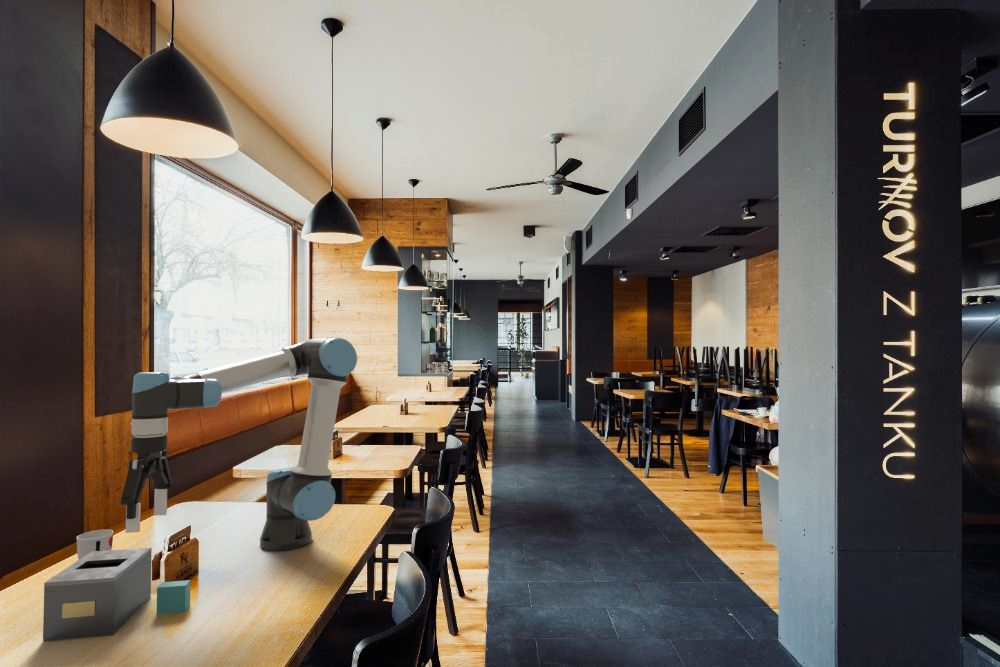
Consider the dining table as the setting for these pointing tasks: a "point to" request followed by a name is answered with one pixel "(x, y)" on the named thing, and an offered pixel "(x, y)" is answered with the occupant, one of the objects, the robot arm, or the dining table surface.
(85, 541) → the cup
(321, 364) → the robot arm
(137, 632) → the dining table surface
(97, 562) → the tip box
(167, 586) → the teal rectangular block
